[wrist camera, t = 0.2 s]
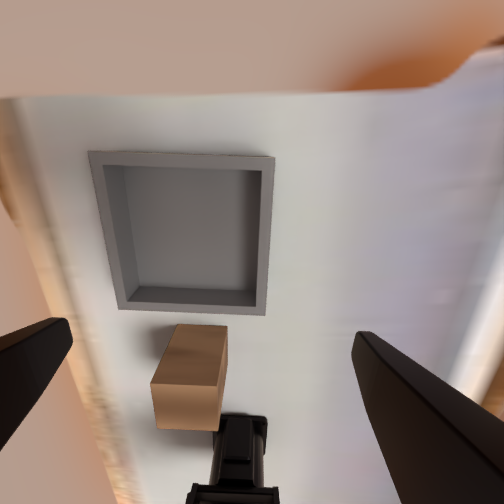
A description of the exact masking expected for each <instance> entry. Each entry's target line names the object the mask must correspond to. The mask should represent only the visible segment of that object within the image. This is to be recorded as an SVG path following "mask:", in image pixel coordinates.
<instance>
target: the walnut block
mask: <svg viewBox="0 0 504 504" xmlns="http://www.w3.org/2000/svg"><path fill="white" fill-rule="evenodd" d="M227 365H228V339H227V326H212V325H189V324H178V325H177V327H176V329H175V331H174V333H173V335H172V338H171V340H170V342H169V344H168V346H167V348H166V350H165V353H164V355H163V357H162V359H161V361H160V363H159V365H158V368H157V370H156V372H155V374H154V376H153V378H152V380H151V382H150V387H151V393H152V399H153V405H154V412H155V418H156V424H157V428H160V429H183V430H205V431H218V428H219V421H220V414H221V407H222V400H223V393H224V386H225V379H226V372H227Z"/></svg>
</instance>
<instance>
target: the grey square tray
mask: <svg viewBox="0 0 504 504" xmlns="http://www.w3.org/2000/svg"><path fill="white" fill-rule="evenodd" d="M88 156H89V161H90V166H91V172H92V177H93V182H94V187H95V192H96V197H97V202H98V208H99V213H100V218H101V223H102V228H103V233H104V238H105V244H106V249H107V254H108V259H109V264H110V269H111V274H112V280H113V285H114V290H115V295H116V300H117V305H118V310H141V311H164V312H188V313H212V314H235V315H259V316H265V313H266V297H267V281H268V266H269V250H270V234H271V218H272V202H273V187H274V171H275V158H274V157H259V156H231V155H203V154H175V153H148V152H120V151H88Z"/></svg>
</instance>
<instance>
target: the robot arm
mask: <svg viewBox="0 0 504 504" xmlns="http://www.w3.org/2000/svg"><path fill="white" fill-rule="evenodd" d="M72 343H73V337H72V334H71V330H70V326H69V323H68V320H67V319H65V318H59V317H51V318H48V319H46V320H43V321H40V322H38V323H35V324H32V325H30V326H27V327H25V328H22V329H19V330H17V331H14V332H12V333H9V334H6V335H4V336H1V337H0V451H1V450H2V448H3V447H4V446H5V444H6V443H7V441H8V440H9V438H10V437H11V436H12V435H13V433H14V432H15V431H16V429H17V428H18V427H19V425H20V424H21V422H22V421H23V420H24V418H25V417H26V416H27V414H28V413H29V411H30V410H31V409H32V407H33V406H34V405H35V403H36V402H37V401H38V399H39V398H40V396H41V395H42V393H43V392H44V390H45V389H46V387H47V386H48V384H49V382H50V381H51V379H52V378H53V376H54V374H55V373H56V371H57V369H58V368H59V366H60V365H61V363H62V361H63V360H64V358H65V356H66V355H67V353H68V352H69V350H70V348H71V346H72ZM351 357H352V362H353V366H354V369H355V373H356V377H357V380H358V384H359V388H360V391H361V395H362V399H363V402H364V406H365V409H366V412H367V415H368V418H369V420H370V423H371V425H372V428H373V431H374V433H375V436H376V438H377V441H378V444H379V446H380V449H381V451H382V454H383V457H384V459H385V462H386V464H387V467H388V470H389V472H390V475H391V477H392V480H393V483H394V485H395V488H396V490H397V493H398V496H399V498H400V501H401V503H402V504H504V422H503V421H502V420H500V419H499V418H497V417H496V416H494V415H493V414H491V413H490V412H488V411H487V410H485V409H484V408H483V407H481V406H480V405H478V404H477V403H475V402H474V401H472V400H471V399H469V398H468V397H466V396H465V395H463V394H462V393H461V392H459V391H458V390H456V389H455V388H453V387H452V386H450V385H449V384H447V383H446V382H444V381H443V380H441V379H440V378H439V377H437V376H436V375H434V374H433V373H431V372H430V371H428V370H427V369H425V368H424V367H422V366H421V365H419V364H418V363H417V362H415V361H414V360H412V359H411V358H409V357H408V356H406V355H405V354H403V353H402V352H400V351H399V350H397V349H396V348H395V347H393V346H392V345H390V344H389V343H387V342H386V341H384V340H383V339H381V338H380V337H378V336H377V335H375V334H374V333H372V332H370V331H358V332H357V333H356V335H355V339H354V343H353V348H352V352H351ZM267 425H268V422H267V419H266V418H263V417H241V416H220V421H219V428H218V431H213V451H214V454H213V461H212V467H211V474H210V481H209V485H199V484H198V483H193V485H192V489H191V492H189V493H188V494H187V499H186V503H185V504H280V501H279V490H278V487H274V486H273V488H270V487H264V471H263V455H265V449H266V437H267Z"/></svg>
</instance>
